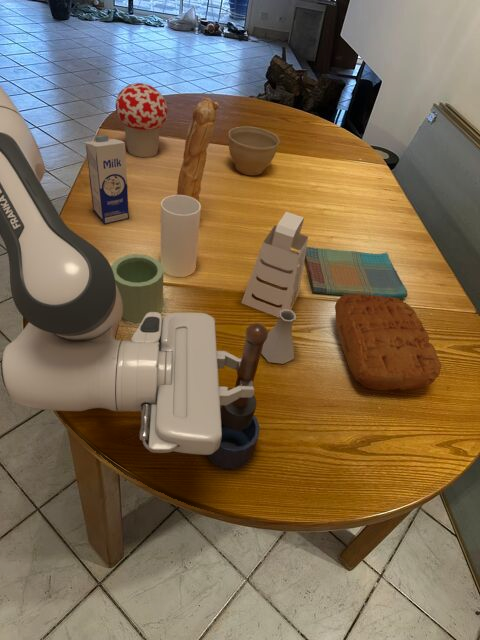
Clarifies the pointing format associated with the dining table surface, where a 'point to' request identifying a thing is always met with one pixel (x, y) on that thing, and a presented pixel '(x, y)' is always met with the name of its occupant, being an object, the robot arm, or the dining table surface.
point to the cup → (179, 234)
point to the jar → (139, 285)
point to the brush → (244, 408)
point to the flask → (280, 339)
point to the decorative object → (141, 117)
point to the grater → (278, 266)
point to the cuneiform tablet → (385, 343)
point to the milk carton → (108, 178)
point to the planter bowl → (252, 149)
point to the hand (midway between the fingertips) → (252, 377)
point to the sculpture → (196, 148)
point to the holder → (236, 446)
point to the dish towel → (352, 273)
